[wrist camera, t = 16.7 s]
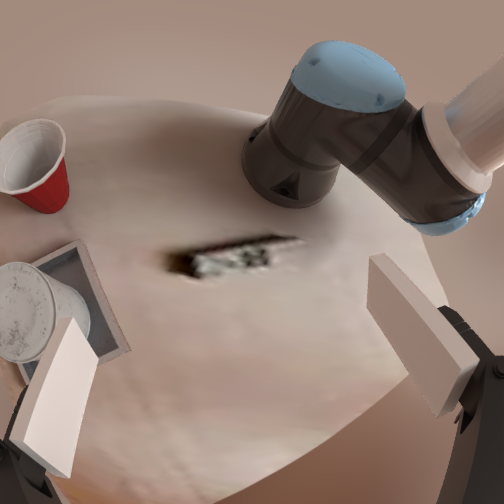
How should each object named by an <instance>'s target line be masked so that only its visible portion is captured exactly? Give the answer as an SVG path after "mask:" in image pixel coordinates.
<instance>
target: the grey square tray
mask: <svg viewBox="0 0 504 504" xmlns="http://www.w3.org/2000/svg"><path fill="white" fill-rule="evenodd" d="M30 265H33V266H35V267H36V268H37V269H39V270H40V271H41V272H43V273H45V274H47V275H49V276H50V277H52V278H54V279H56V280H58V281H59V282H61V283H63V284H65V285H68V286H70V287H72V288H73V289H75V290H76V291H77V292H78V293H79V294H80V295H81V296H82V297H83V299H84V301H85V302H86V304H87V307H88V310H89V313H90V331H89V335H88V338H87V341H88V343H89V345H90V346H91V348H92V349H93V351H94V353H95V354H96V356H97V357H98V359H99V360H98V364H97V366H99V365H101V364H103V363H105V362H107V361H110V360H112V359H114V358H116V357H118V356H120V355H122V354H124V353H126V352H128V351H131V349H130V347H129V345H128V343H127V341H126V339H125V337H124V335H123V333H122V331H121V329H120V326H119V324H118V322H117V320H116V318H115V316H114V314H113V311H112V309H111V307H110V305H109V302H108V300H107V298H106V295H105V293H104V291H103V288H102V286H101V284H100V281H99V279H98V276H97V274H96V271H95V269H94V266H93V264H92V261H91V258H90V256H89V253H88V250H87V247H86V245H85V244H84V243H83V242H82V240H81V239H78V240H76V241H74V242H72V243H70V244H68V245H66V246H64V247H62V248H60V249H58V250H56V251H54V252H52V253H50V254H48V255H46V256H44V257H42V258H40V259H39V260H37V261H35V262H33V263H31V264H30ZM39 361H40V360H37V361H31V362H27V363H17V365H18V367H19V370H20V372H21V374H22V376H23V379H24V381H25V383H26V385H29V384H30V382H31V379H32V377H33V375H34V372H35V370H36V368H37V366H38V363H39Z"/></svg>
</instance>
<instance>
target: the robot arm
mask: <svg viewBox="0 0 504 504" xmlns="http://www.w3.org/2000/svg"><path fill="white" fill-rule="evenodd" d="M405 93H406V87H405V83H404V81H403V79H402V77H401V76H400V75H399V74H397V73H396V70H395V68H394V67H393V66H392V65H391V64H390V63H388V62H387V61H386V60H385V59H383V58H382V57H380V56H379V55H377V54H376V53H374V52H372V51H370V50H368V49H366V48H364V47H361V46H359V45H356V44H353V43H349V42H342V41H334V40H332V41H323V42H319V43H316V44H314V45H312V46H311V47H310V48H309V49H307V51H306V52H305V53H304V55H303V56H302V58H301V60H300V61H299V63H298V64H297V65H296V66H295V67H294V68H293V70H292V73H291V77H290V79H289V81H288V83H287V85H286V87H285V89H284V91H283V93H282V95H281V97H280V99H279V101H278V103H277V105H276V107H275V109H274V112H273V114H272V116H270V117H269V118H268V119H266V120H265V121H264V122H263V123H261V124H260V125H259V126H257V127H256V128H255V129H254V130H253V131H252V132H251V134H250V135H249V137H248V138H247V141H246V143H245V145H244V148H243V151H242V166H243V170H244V173H245V175H246V177H247V179H248V181H249V182H250V184H251V185H252V186H253V188H254V189H255V190H256V191H257V192H258V193H259V194H260V195H262V196H263V197H264V198H266V199H267V200H269V201H271V202H273V203H275V204H277V205H280V206H284V207H288V208H304V207H309V206H311V205H314V204H316V203H317V202H319V201H320V200H321V199H322V198H323V197H324V196H325V195H326V194H327V193H328V192H329V191H330V190H331V188H332V187H333V185H334V182H335V180H336V176H337V173H338V170H339V167H340V164H343V165H344V166H345V167H346V168H348V169H349V170H350V171H351V172H353V173H354V174H355V175H356V176H357V177H358V178H359V179H361V180H362V181H363V182H364V183H365V184H366V185H367V186H368V187H370V188H371V189H372V190H373V191H374V192H375V193H376V194H377V195H378V196H380V197H381V198H382V199H383V200H384V201H385V202H386V203H387V204H388V205H389V206H390V207H391V208H392V209H393V210H394V211H396V212H397V213H398V214H399V216H400V217H401V218H402V219H403V220H404V221H406V222H407V223H409V224H411V225H412V226H413V227H414V228H416V229H417V230H418V231H419V232H421V233H423V234H425V235H429V236H442V235H447V234H450V233H452V232H454V231H456V230H458V229H460V228H461V227H463V226H464V225H466V224H467V223H468V219H469V218H470V217H474V216H475V215H476V214H477V213H478V211H479V210H480V208H481V207H482V204H483V202H484V200H485V195H486V191H487V190H488V189H489V188H490V186H491V181H492V175H493V171H494V170H496V169H497V168H499V167H501V166H502V165H504V53H503V54H502V55H501V56H500V57H499V58H498V59H497V60H496V61H495V62H493V63H492V64H491V65H490V66H489V67H488V68H487V69H486V70H484V71H483V72H482V73H481V74H480V75H479V76H478V77H477V78H475V80H473V81H472V82H471V83H470V84H469V85H468V86H467V87H465V88H464V89H463V90H462V91H461V92H460V93H459V94H457V95H456V96H455V97H454V98H453V99H452V100H451V101H450V102H448V103H445V102H440V101H434V100H433V101H429V102H428V103H426V104H425V105H424V106H423V107H422V108H421V109H420V110H417V109H416V108H415V107H414V106H413V105H411V104H410V103H409V102H408V101H407V100H406V99H405ZM367 309H368V310H369V312H370V313H371V315H372V316H373V318H374V319H375V321H376V322H377V324H378V325H379V327H380V328H381V330H382V331H383V333H384V335H385V336H386V338H387V339H388V341H389V342H390V344H391V345H392V347H393V348H394V350H395V352H396V353H397V355H398V356H399V358H400V359H401V361H402V363H403V364H404V366H405V367H406V369H407V371H408V372H409V374H410V376H411V377H412V379H413V380H414V382H415V384H416V385H417V387H418V389H419V390H420V392H421V394H422V395H423V397H424V399H425V400H426V402H427V404H428V406H429V407H430V409H431V411H432V412H433V414H434V416H435V418H436V419H437V418H439V417H441V416H443V415H445V414H447V413H449V412H451V411H453V409H454V408H455V406H456V405H457V403H458V401H459V402H460V403H461V405H462V406H463V407H462V409H461V411H460V412H459V414H458V416H457V417H456V419H455V421H454V423H455V424H456V423H457V422H458V420H459V423H458V428H457V433H456V437H455V442H454V446H453V450H452V454H451V458H450V461H449V465H448V469H447V472H446V475H445V479H444V482H443V485H442V488H441V491H440V494H439V497H438V500H437V503H436V504H504V356H495V355H494V354H493V353H492V352H491V351H490V349H489V348H488V347H487V346H486V345H485V343H484V342H483V341H482V340H481V339H480V338H479V336H478V335H477V334H475V332H474V331H473V330H472V329H471V328H470V326H469V325H468V324H467V323H466V322H464V320H463V318H462V317H461V316H460V315H459V314H458V313H457V312H456V311H454V310H453V309H451V308H449V307H447V306H445V305H444V306H442V307H439V308H436V307H435V306H434V305H433V304H432V302H431V301H430V300H429V299H428V298H427V297H426V296H425V295H424V294H423V293H422V291H421V290H420V289H419V288H418V287H417V286H416V285H415V284H414V283H413V282H412V281H411V280H410V279H409V278H408V277H407V275H406V274H405V273H404V272H403V271H402V270H401V269H400V268H399V267H398V266H397V265H396V264H395V263H394V262H393V261H392V260H391V259H390V258H389V257H388V256H387V255H386V254H385V253H383V254H379V255H375V256H370V257H369V274H368V294H367ZM98 360H99V359H98V357H97V356H96V354H95V353H94V351H93V349H92V348H91V346H90V345H89V343H88V341H87V340H86V338H85V336H84V335H83V333H82V331H81V329H80V328H79V326H78V324H77V322H76V321H75V319H74V317H66V318H60V320H59V322H58V324H57V326H56V328H55V330H54V332H53V334H52V336H51V338H50V340H49V342H48V344H47V346H46V348H45V351H44V353H43V355H42V357H41V359H40V361H39V363H38V366H37V368H36V370H35V372H34V375H33V377H32V379H31V382H30V384H29V385H27V386H26V387H25V389H24V390H23V391H22V392H21V394H20V396H19V399H18V401H17V405H16V406H15V409H14V413H13V414H12V417H11V420H10V422H9V425H8V428H7V431H6V434H5V437H4V440H3V441H2V440H1V439H0V504H62V503H61V501H60V499H59V497H58V495H57V493H56V491H55V489H54V487H53V486H52V484H51V481H50V480H49V478H48V477H47V476H46V475H45V472H46V470H47V471H49V472H50V473H52V474H53V475H54V476H57V477H63V478H70V476H71V470H72V465H73V459H74V454H75V449H76V445H77V440H78V436H79V431H80V427H81V423H82V418H83V414H84V410H85V406H86V403H87V399H88V395H89V391H90V388H91V384H92V381H93V377H94V374H95V370H96V367H97V364H98Z"/></svg>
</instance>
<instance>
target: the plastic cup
mask: <svg viewBox="0 0 504 504" xmlns="http://www.w3.org/2000/svg"><path fill="white" fill-rule="evenodd" d="M65 145H66V136H65V133H64V131H63V128H62V126H60V125H59V124H58V123H56V122H55V121H53V120H50V119H43V118H38V119H33V120H29V121H25V122H23V123H21V124H19V125H18V126H16V127H14V128H12V129H11V130H10V131H9V132H8V133H7V134H6V135H5V136H4V137H2V138H1V139H0V192H3V193H6V194H9V195H11V196H12V197H15V198H17V199H18V200H20V201H21V202H23V203H25V204H26V205H28V206H30V207H31V208H34V209H36V210H38V211H39V212H42V213H46V214H51V213H55V212H57V211H59V210H60V209H62V207H63V206H64V205H65V204H66V202H67V200H68V197H69V184H68V180H67V172H66V167H65V162H64V152H65Z"/></svg>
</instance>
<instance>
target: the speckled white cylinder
mask: <svg viewBox="0 0 504 504" xmlns="http://www.w3.org/2000/svg"><path fill="white" fill-rule="evenodd" d="M66 317H74V319H75V321H76V322H77V324H78V326H79V328H80V329H81V331H82V333H83V335H84V336H85V338H86V340H87V338H88V335H89V331H90V313H89V310H88V307H87V304H86V302H85V301H84V299H83V297H82V296H81V295H80V294H79V293H78V292H77V291H76V290H75V289H73V288H72V287H70V286H68V285H65V284H63V283H61V282H59V281H58V280H56V279H54V278H52V277H50V276H49V275H47V274H45V273H43V272H41V271H40V270H39V269H37V268H36V267H35V266H33V265H30V264H28V263H25V262H20V261H16V262H9V263H7V264H4V265H2V266H0V356H1V357H2V358H4V359H6V360H7V361H10V362H14V363H27V362H31V361H37V360H40V359H41V357H42V355H43V353H44V351H45V348H46V346H47V344H48V342H49V340H50V338H51V336H52V334H53V332H54V330H55V328H56V326H57V324H58V322H59V320H60V318H66Z"/></svg>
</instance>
